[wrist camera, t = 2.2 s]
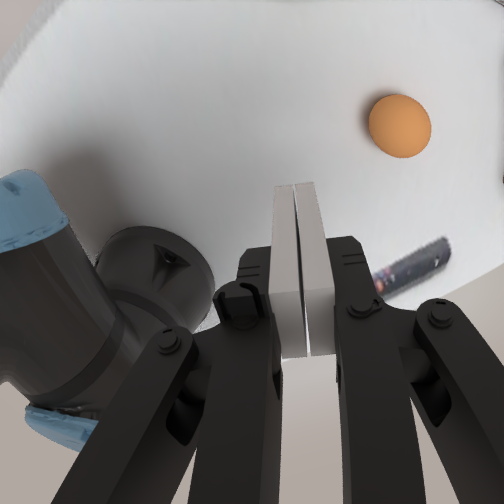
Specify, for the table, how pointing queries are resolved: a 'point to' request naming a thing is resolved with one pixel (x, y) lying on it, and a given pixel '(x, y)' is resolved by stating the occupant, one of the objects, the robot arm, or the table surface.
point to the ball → (400, 126)
